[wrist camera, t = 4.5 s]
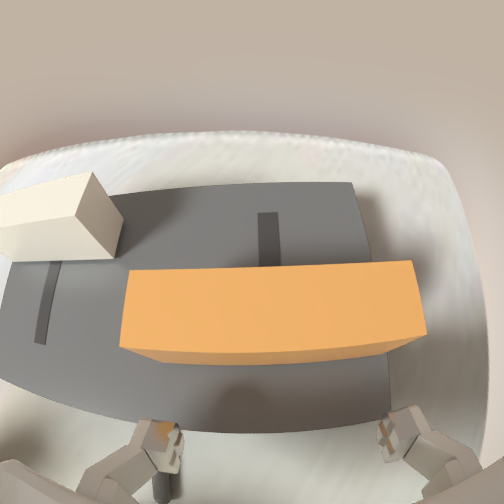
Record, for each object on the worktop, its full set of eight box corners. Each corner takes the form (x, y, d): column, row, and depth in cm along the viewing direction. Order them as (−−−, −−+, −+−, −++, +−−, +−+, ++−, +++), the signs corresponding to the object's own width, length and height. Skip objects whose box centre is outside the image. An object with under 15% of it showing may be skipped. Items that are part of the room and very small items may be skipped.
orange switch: (380, 354, 12) (427, 334, 8) (163, 362, 13) (119, 346, 9) (373, 299, 14) (411, 260, 10) (167, 307, 14) (129, 270, 10)
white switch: (113, 258, 16) (74, 215, 12) (12, 261, 16) (-23, 232, 12) (123, 218, 17) (92, 171, 13) (23, 230, 18) (-8, 198, 13)
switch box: (359, 498, 12) (385, 523, 8) (32, 453, 13) (-6, 454, 9) (336, 217, 23) (350, 176, 18) (60, 232, 24) (33, 204, 19)
